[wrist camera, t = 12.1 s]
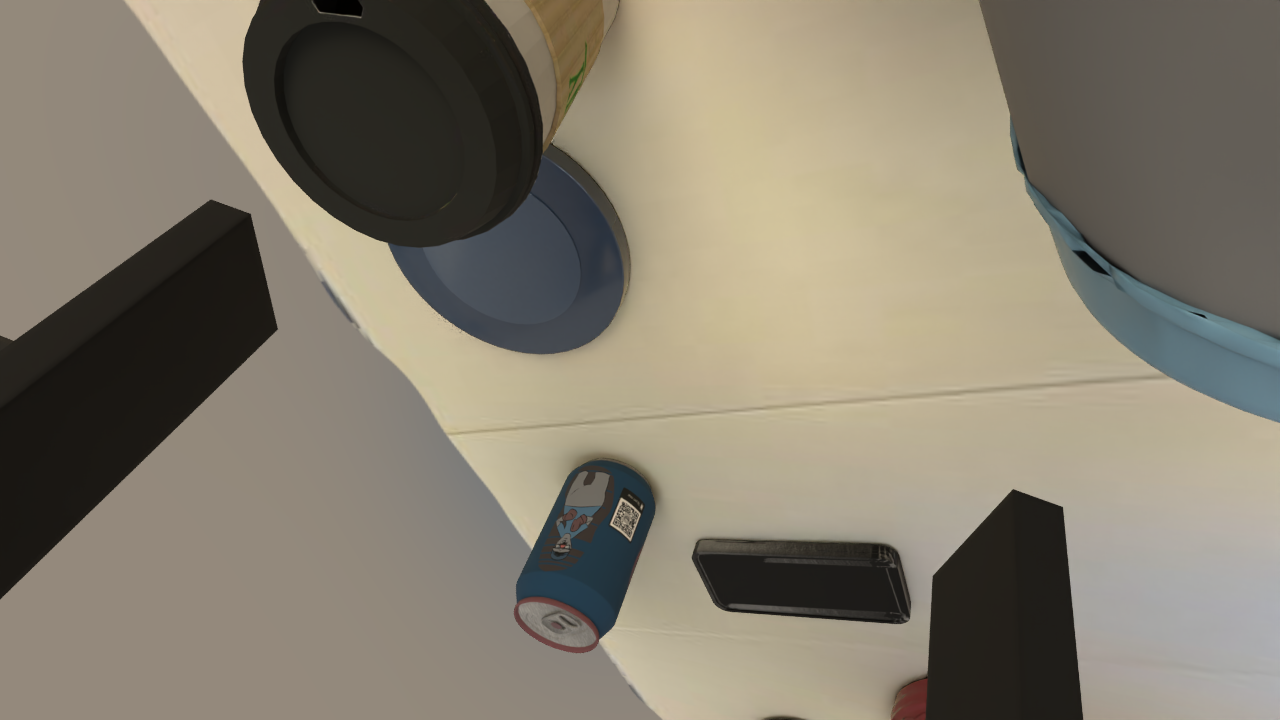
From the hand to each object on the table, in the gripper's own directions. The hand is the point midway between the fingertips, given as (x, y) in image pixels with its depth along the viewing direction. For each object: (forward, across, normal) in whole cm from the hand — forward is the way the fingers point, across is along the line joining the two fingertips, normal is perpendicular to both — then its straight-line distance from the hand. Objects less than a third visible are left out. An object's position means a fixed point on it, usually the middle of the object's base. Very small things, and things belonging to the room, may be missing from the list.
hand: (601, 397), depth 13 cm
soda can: (+25, -3, -37) cm, 45 cm away
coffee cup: (+25, -11, -4) cm, 27 cm away
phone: (+25, +12, -40) cm, 48 cm away
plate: (+25, -12, -19) cm, 33 cm away
